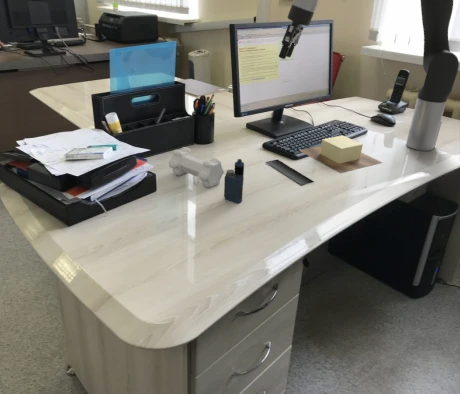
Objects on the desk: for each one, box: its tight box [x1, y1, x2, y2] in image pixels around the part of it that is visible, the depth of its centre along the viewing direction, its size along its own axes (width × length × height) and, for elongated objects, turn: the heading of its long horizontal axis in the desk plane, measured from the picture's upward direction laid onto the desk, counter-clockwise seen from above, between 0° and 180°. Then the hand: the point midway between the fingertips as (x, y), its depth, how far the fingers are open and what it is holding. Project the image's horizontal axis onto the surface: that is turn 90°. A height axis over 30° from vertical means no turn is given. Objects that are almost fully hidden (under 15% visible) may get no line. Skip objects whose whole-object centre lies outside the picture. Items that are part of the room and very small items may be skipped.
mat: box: [265, 159, 315, 186], centre depth 133 cm, size 14×18×1 cm
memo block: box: [320, 135, 364, 164], centre depth 139 cm, size 9×9×5 cm
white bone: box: [168, 146, 225, 189], centre depth 123 cm, size 15×9×8 cm, turn 51°
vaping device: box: [223, 158, 245, 204], centre depth 111 cm, size 3×5×12 cm, turn 58°
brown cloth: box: [298, 145, 383, 174], centre depth 140 cm, size 18×20×2 cm
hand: (284, 57), depth 143 cm, fingers open, 8 cm apart
